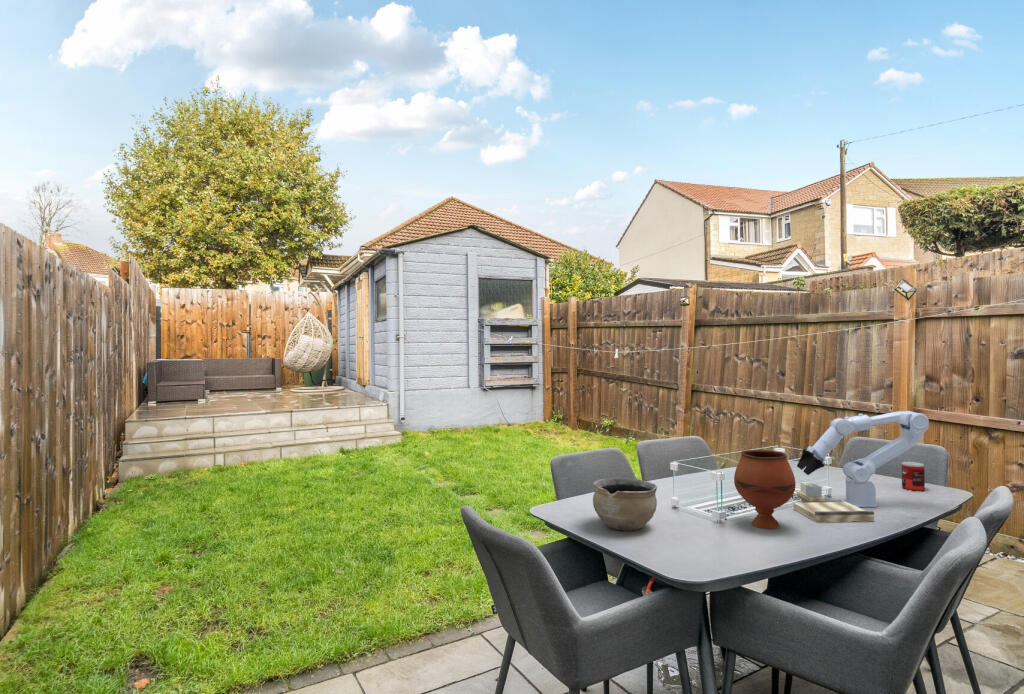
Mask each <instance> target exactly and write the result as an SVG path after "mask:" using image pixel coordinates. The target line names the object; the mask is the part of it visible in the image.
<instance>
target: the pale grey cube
mask: <svg viewBox="0 0 1024 694" xmlns="http://www.w3.org/2000/svg"><path fill="white" fill-rule="evenodd" d="M822 489H823V487H822V486H820V485H818V484H816V485H806V495H807V496H809V497H811V498H817V497H823V496H822V495H823V493H822Z"/></svg>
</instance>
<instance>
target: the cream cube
mask: <svg viewBox="0 0 1024 694" xmlns="http://www.w3.org/2000/svg"><path fill="white" fill-rule="evenodd" d="M806 485H817V484H816V483H814V482H811V481H806V482H805V481H803V482H800V491H801V493H803V494H805V495H806Z"/></svg>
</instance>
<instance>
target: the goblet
mask: <svg viewBox="0 0 1024 694" xmlns="http://www.w3.org/2000/svg"><path fill="white" fill-rule="evenodd" d="M740 455H741V456H740V458H739V460H738V462H737V466H736V468H735V471H734V474H733V475H734V476H733V482H734V483H733V484H734V486H735V489H736V491H737V494H739V495H740V496H741V498H742V499H743V500H745V501H746V502H747V503H748V504H749V505H750V506H753V507H754V508H755V512H756V513H757V515H756V516H755V517H754V518H753V519H752V521H751V525H752V526H753V527H755V528H758V529H762V530H763V529H764V530H776V529H780V527H781V525H780V523H779V522H778V520H777V519H776V518H775V517H774V516H773V513H775V509H777V508H780V507H782V506H783V505H784V504H786V503H787V502H788V501H789V500H791V498H792V497H793V495H795V490H796V485H797V484H796V483H797V482H796V477H795V475H794V471H793V469H792V467H791V464H790V463H789V460H788V455H787V454H786V452H783V451H776V450H767V449H765V450H763V449H748V450H742V451H741V452H740Z"/></svg>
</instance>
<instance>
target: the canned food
mask: <svg viewBox="0 0 1024 694" xmlns="http://www.w3.org/2000/svg"><path fill="white" fill-rule="evenodd" d="M925 471H926V469H925V464H924V463H922V462H916V461H902V462H901V487H902V489H903V490H905V489H906V491H909V490H912V491H911V492H916V491H922V492H924V491H925V488H926V487H925V485H926V484H925V483H926V481H925V479H926V478H925V477H926V476H925Z"/></svg>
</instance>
